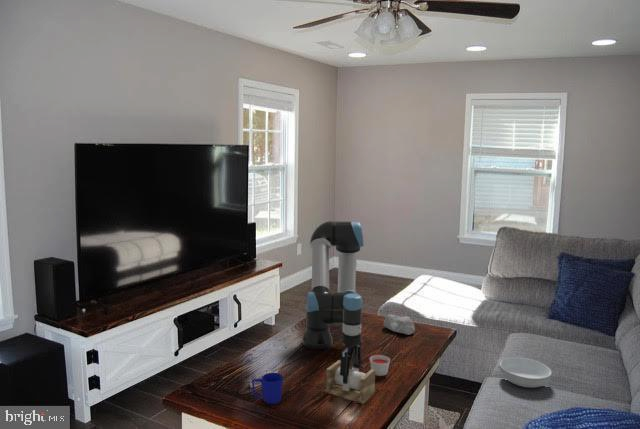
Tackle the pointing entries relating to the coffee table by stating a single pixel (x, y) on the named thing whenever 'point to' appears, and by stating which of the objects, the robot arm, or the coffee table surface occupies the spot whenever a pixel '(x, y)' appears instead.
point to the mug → (270, 387)
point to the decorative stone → (399, 324)
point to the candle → (380, 364)
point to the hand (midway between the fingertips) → (350, 386)
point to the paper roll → (354, 378)
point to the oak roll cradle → (355, 395)
